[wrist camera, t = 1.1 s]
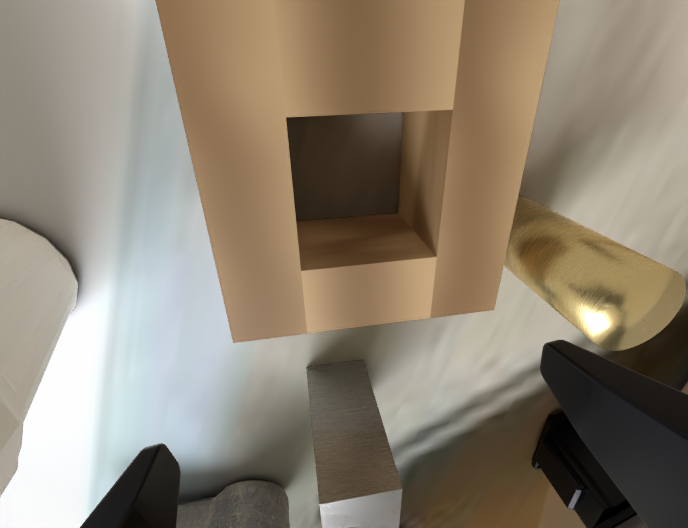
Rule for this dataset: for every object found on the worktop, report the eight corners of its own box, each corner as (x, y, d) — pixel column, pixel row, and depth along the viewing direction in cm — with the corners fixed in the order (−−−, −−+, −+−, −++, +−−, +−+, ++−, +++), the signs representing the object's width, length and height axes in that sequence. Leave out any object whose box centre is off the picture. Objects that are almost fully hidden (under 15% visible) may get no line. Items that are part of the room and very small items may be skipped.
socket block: (475, 19, 14) (561, -6, 10) (446, 258, 20) (493, 309, 15) (195, 22, 13) (154, -5, 9) (244, 279, 18) (233, 342, 14)
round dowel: (546, 194, 19) (702, 263, 12) (531, 252, 20) (661, 344, 14) (484, 199, 18) (610, 274, 11) (474, 258, 20) (579, 356, 13)
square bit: (363, 359, 22) (402, 488, 15) (363, 399, 24) (398, 531, 17) (306, 367, 22) (319, 504, 15) (310, 407, 24) (324, 547, 17)
